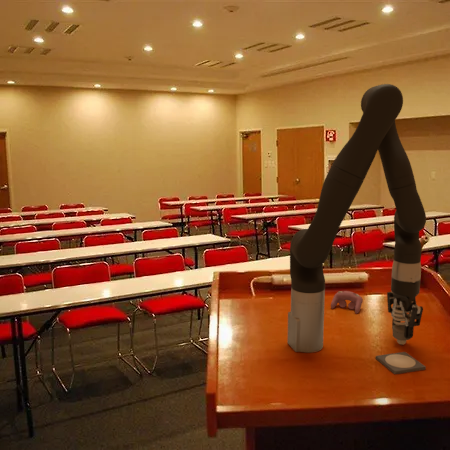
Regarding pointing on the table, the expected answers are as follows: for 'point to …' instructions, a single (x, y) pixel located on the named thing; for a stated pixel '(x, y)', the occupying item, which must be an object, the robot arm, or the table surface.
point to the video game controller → (347, 295)
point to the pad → (400, 362)
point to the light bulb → (399, 326)
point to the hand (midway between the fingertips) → (402, 333)
